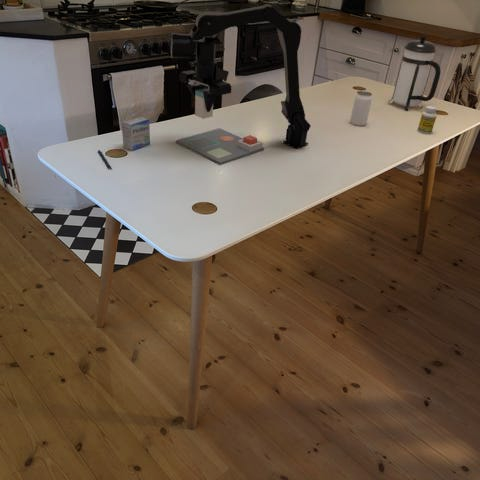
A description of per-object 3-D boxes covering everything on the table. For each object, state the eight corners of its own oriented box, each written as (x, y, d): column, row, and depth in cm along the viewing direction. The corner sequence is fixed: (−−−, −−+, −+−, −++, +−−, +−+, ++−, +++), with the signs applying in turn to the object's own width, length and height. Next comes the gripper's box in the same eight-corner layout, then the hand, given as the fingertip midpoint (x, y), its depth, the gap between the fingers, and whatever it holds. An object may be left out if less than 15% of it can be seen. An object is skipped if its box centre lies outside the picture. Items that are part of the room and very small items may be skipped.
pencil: (108, 170, 135) (96, 151, 146) (112, 170, 136) (99, 150, 146) (108, 168, 135) (96, 148, 145) (112, 167, 135) (99, 148, 146)
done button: (256, 143, 154) (257, 138, 153) (249, 145, 152) (250, 140, 151) (249, 140, 156) (250, 135, 155) (243, 142, 154) (243, 137, 153)
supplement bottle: (429, 129, 184) (436, 105, 178) (433, 134, 179) (440, 110, 174) (415, 128, 184) (422, 104, 179) (418, 133, 179) (426, 108, 174)
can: (365, 121, 187) (371, 91, 180) (367, 127, 181) (374, 96, 175) (349, 119, 187) (355, 90, 180) (350, 125, 182) (356, 94, 175)
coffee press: (387, 109, 203) (405, 35, 186) (388, 99, 216) (405, 29, 199) (428, 115, 199) (450, 41, 183) (427, 105, 212) (447, 34, 196)
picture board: (264, 149, 155) (264, 142, 154) (220, 164, 143) (220, 157, 141) (219, 130, 168) (219, 123, 166) (175, 142, 155) (175, 135, 154)
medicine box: (132, 151, 147) (130, 125, 142) (122, 147, 149) (121, 121, 144) (150, 144, 152) (149, 119, 148) (141, 141, 155) (140, 115, 150)
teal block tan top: (212, 116, 150) (213, 91, 145) (203, 118, 147) (203, 93, 143) (204, 113, 152) (205, 88, 147) (195, 115, 149) (195, 90, 145)
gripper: (245, 62, 140) (242, 113, 148) (205, 49, 150) (203, 98, 159) (218, 67, 133) (216, 120, 141) (177, 53, 143) (178, 103, 152)
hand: (203, 109), depth 148 cm, fingers closed on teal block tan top, 4 cm apart
